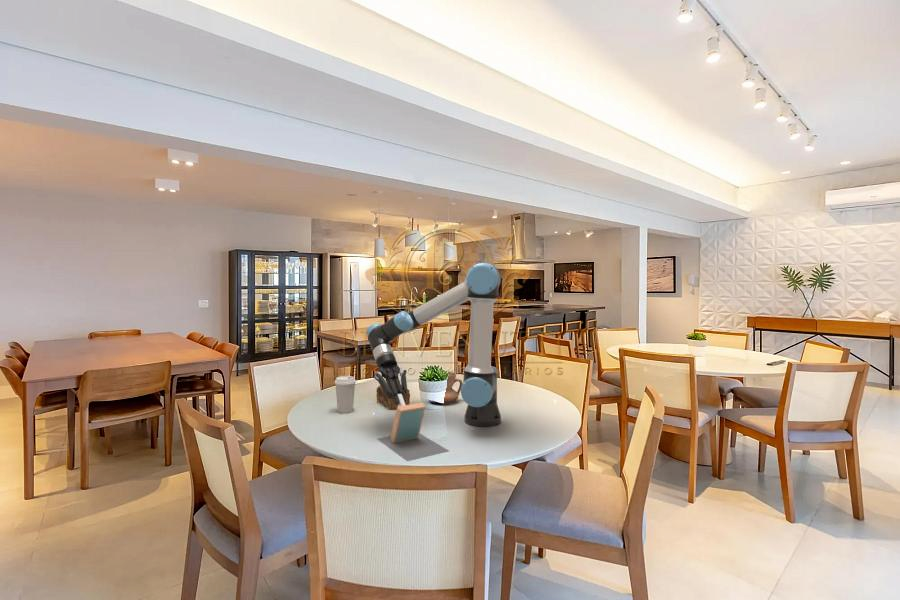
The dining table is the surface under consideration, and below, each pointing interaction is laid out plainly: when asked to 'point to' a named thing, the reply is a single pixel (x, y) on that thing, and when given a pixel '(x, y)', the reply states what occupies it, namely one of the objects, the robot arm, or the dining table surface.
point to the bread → (390, 398)
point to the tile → (407, 422)
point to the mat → (414, 447)
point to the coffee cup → (345, 393)
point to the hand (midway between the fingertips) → (403, 411)
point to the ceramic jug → (451, 393)
